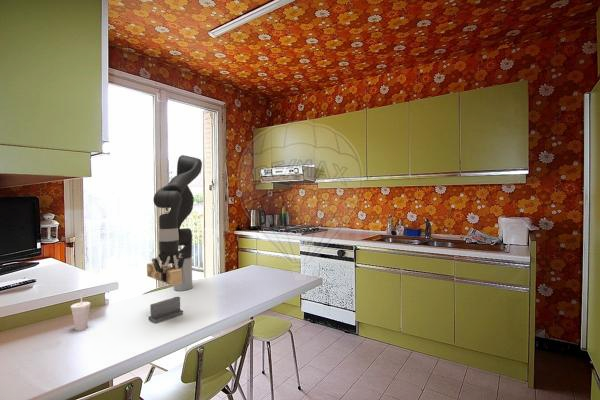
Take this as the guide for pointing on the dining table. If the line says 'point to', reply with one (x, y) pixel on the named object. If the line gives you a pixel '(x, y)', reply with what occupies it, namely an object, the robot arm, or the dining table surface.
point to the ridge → (165, 310)
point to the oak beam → (171, 274)
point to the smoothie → (80, 314)
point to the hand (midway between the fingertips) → (169, 280)
